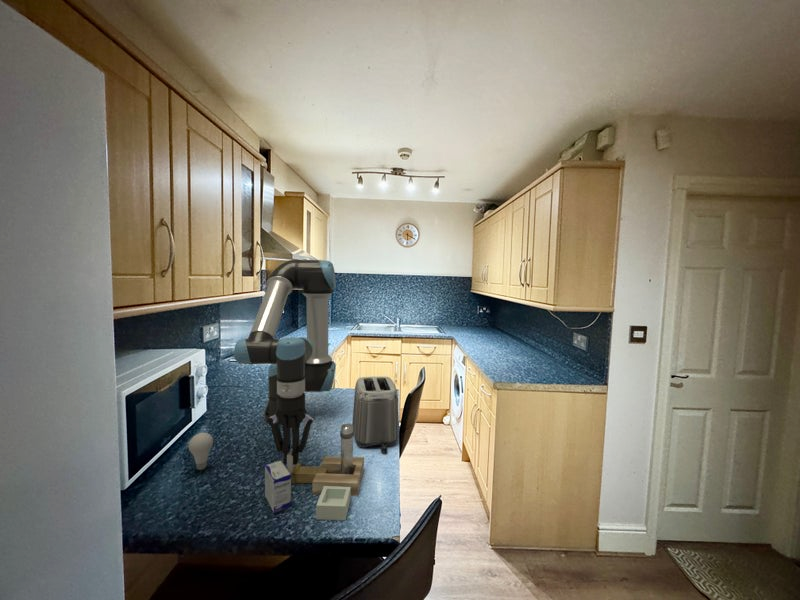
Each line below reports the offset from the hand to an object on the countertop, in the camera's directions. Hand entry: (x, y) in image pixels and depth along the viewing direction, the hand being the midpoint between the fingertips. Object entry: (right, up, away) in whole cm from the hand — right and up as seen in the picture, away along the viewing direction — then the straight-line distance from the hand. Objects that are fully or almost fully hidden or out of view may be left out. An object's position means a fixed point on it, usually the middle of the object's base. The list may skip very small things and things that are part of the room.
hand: (291, 474), depth 89 cm
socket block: (+14, -2, 0) cm, 14 cm away
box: (0, -2, -9) cm, 9 cm away
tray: (+15, -3, -11) cm, 18 cm away
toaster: (+22, 0, +28) cm, 35 cm away
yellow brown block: (+5, -1, 0) cm, 5 cm away
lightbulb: (-28, -1, +4) cm, 28 cm away
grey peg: (+16, -2, 0) cm, 16 cm away
